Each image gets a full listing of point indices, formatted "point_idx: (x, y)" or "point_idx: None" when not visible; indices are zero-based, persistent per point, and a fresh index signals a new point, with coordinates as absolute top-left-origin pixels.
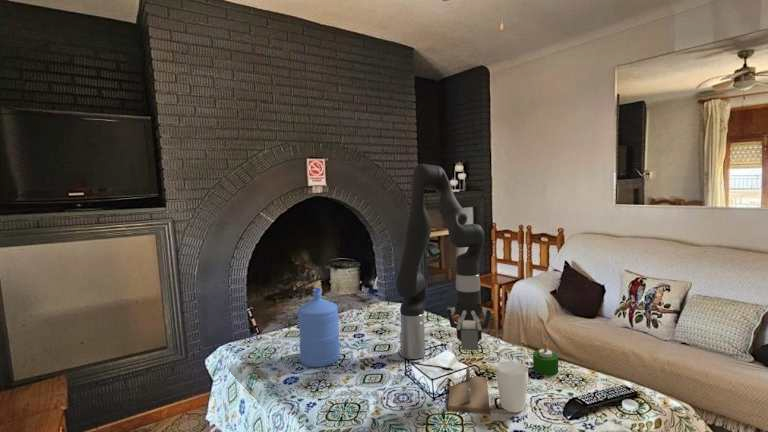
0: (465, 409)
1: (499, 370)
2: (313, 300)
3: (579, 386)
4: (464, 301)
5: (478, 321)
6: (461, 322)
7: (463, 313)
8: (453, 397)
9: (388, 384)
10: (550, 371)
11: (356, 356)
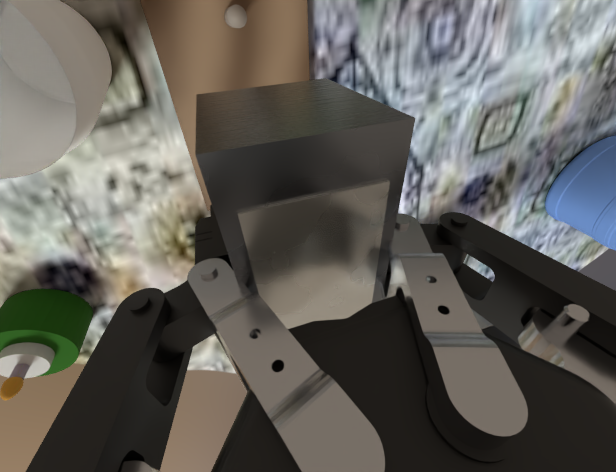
0: None
1: (14, 4)
2: None
3: None
4: None
5: (222, 328)
6: (414, 256)
7: (483, 363)
8: (292, 43)
9: (469, 103)
10: (11, 303)
11: (511, 211)
